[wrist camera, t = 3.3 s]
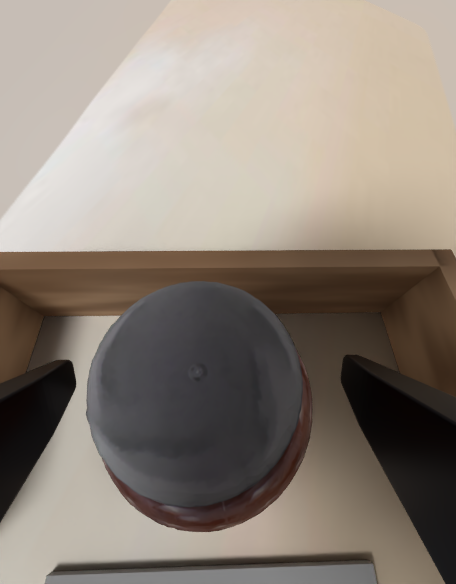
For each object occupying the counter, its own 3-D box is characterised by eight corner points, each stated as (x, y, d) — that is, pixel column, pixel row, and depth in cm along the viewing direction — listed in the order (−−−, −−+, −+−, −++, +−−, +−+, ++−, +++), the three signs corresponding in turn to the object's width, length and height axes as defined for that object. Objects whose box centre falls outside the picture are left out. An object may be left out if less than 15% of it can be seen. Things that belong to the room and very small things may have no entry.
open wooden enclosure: (478, 553, 12) (645, 629, 7) (-63, 573, 12) (-267, 670, 7) (390, 298, 18) (451, 249, 14) (33, 302, 18) (-38, 252, 13)
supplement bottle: (243, 346, 17) (274, 212, 7) (288, 449, 14) (448, 480, 4) (148, 383, 16) (16, 288, 6) (178, 503, 13) (34, 725, 3)
